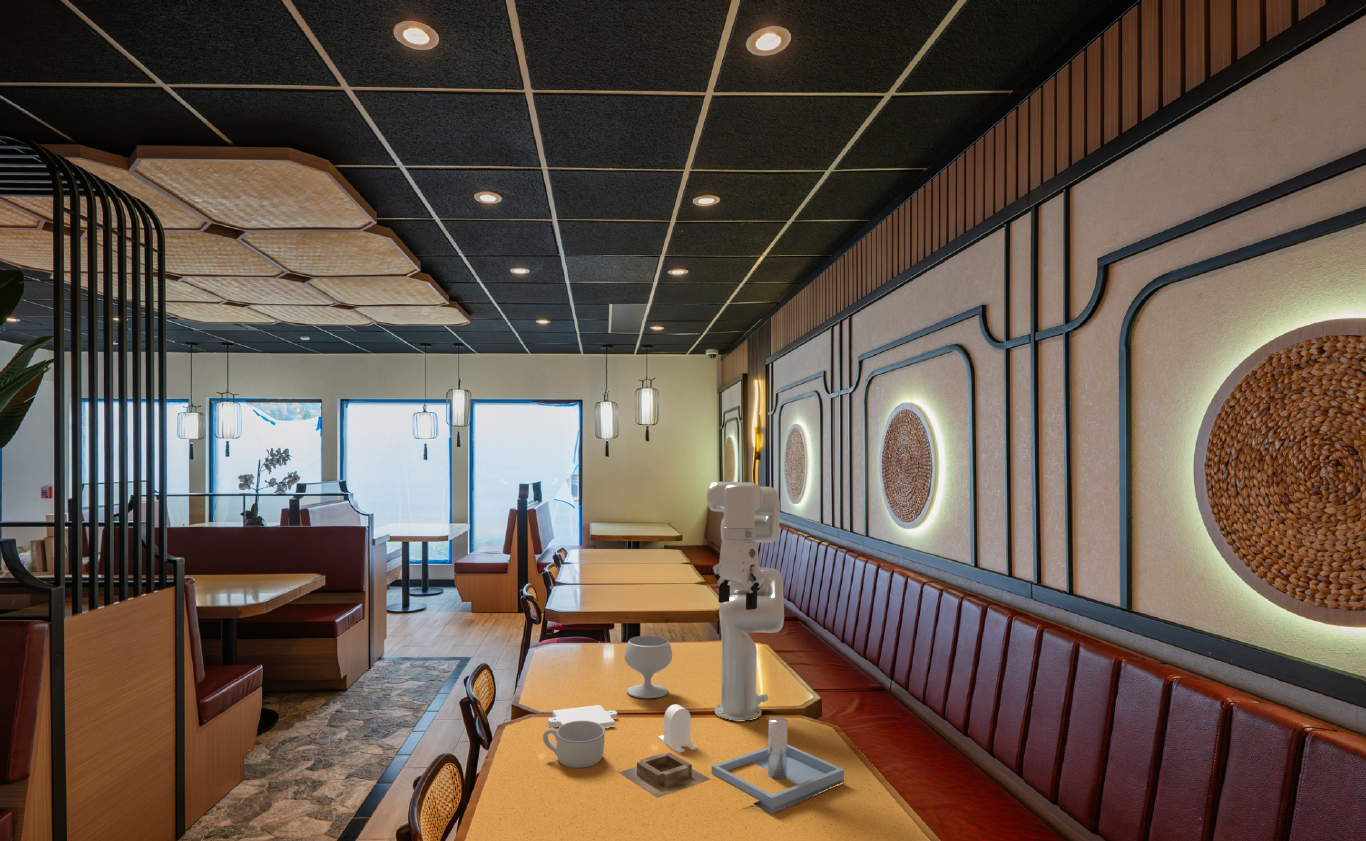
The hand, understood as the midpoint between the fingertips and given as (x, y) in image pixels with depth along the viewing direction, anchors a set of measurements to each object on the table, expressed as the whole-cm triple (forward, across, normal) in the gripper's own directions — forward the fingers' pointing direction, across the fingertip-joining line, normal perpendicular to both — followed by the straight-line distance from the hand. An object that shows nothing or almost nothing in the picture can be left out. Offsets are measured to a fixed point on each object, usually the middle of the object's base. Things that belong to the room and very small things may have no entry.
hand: (737, 605), depth 177 cm
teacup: (+34, +13, +37) cm, 52 cm away
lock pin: (+32, -20, +6) cm, 38 cm away
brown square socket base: (+33, -6, +26) cm, 43 cm away
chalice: (+34, +43, -5) cm, 55 cm away
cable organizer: (+34, +6, +13) cm, 37 cm away
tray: (+33, -20, +6) cm, 39 cm away
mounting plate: (+34, +34, +22) cm, 53 cm away
